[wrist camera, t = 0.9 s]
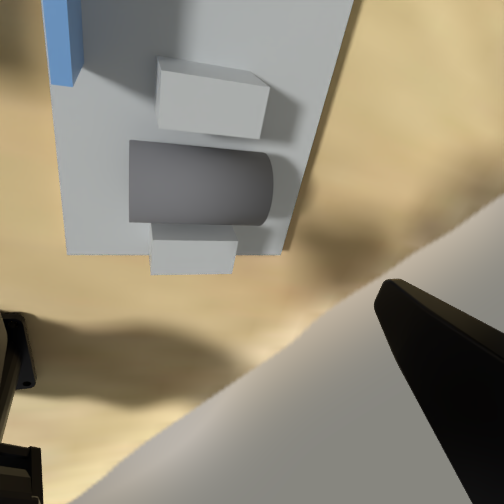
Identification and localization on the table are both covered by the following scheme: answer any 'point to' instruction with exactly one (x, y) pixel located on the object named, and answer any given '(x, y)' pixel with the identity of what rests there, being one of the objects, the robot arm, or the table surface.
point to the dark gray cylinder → (198, 185)
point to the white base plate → (184, 110)
